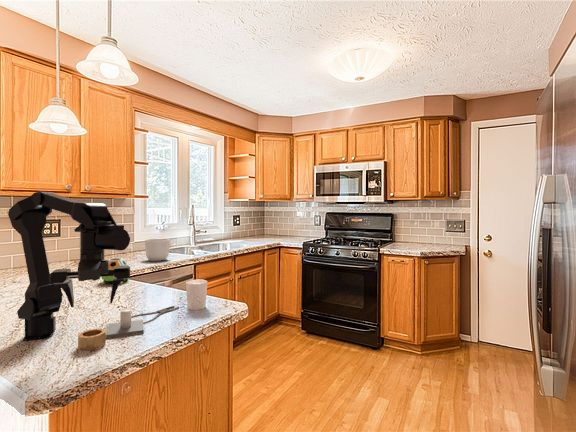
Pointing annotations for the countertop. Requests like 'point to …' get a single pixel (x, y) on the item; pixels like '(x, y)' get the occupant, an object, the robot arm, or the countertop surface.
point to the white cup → (196, 294)
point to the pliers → (157, 312)
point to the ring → (91, 339)
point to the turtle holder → (112, 264)
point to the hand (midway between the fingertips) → (92, 304)
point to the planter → (157, 249)
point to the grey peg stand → (125, 326)
